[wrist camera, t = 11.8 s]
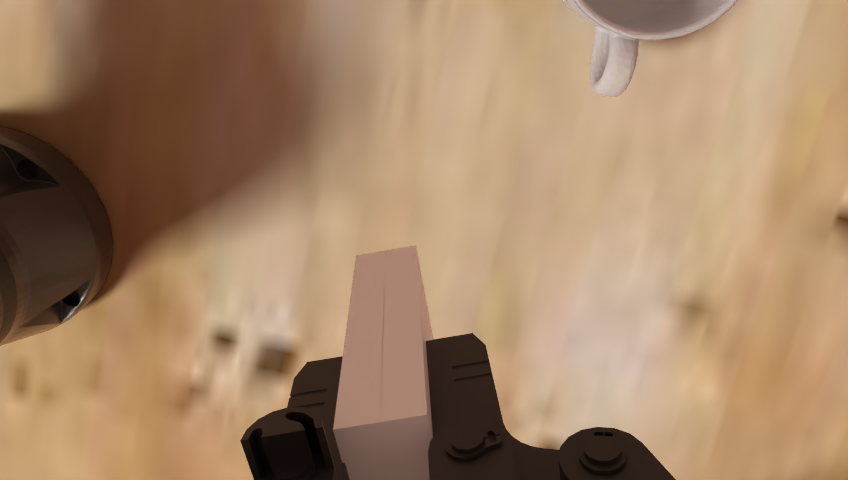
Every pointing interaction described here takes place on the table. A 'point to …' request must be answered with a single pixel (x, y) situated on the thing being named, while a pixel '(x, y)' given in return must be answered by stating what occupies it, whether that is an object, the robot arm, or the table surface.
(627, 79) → the teacup
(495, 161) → the table surface
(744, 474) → the table surface
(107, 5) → the table surface
